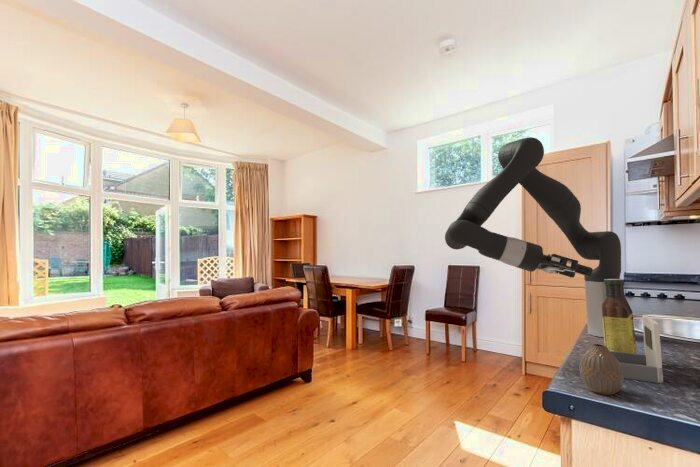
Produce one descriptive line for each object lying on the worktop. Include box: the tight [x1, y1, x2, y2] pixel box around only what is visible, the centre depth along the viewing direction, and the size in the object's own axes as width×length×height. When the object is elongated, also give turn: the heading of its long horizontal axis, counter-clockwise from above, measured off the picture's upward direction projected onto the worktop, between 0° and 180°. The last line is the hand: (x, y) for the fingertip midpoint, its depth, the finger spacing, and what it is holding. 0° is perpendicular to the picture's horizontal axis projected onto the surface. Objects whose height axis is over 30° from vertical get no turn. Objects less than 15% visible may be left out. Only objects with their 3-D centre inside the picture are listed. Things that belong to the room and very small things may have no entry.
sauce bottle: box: [602, 278, 638, 354], centre depth 85 cm, size 6×6×20 cm
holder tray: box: [610, 314, 664, 384], centre depth 76 cm, size 10×11×12 cm
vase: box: [578, 343, 625, 396], centre depth 66 cm, size 7×7×9 cm
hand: (582, 273), depth 88 cm, fingers open, 8 cm apart
